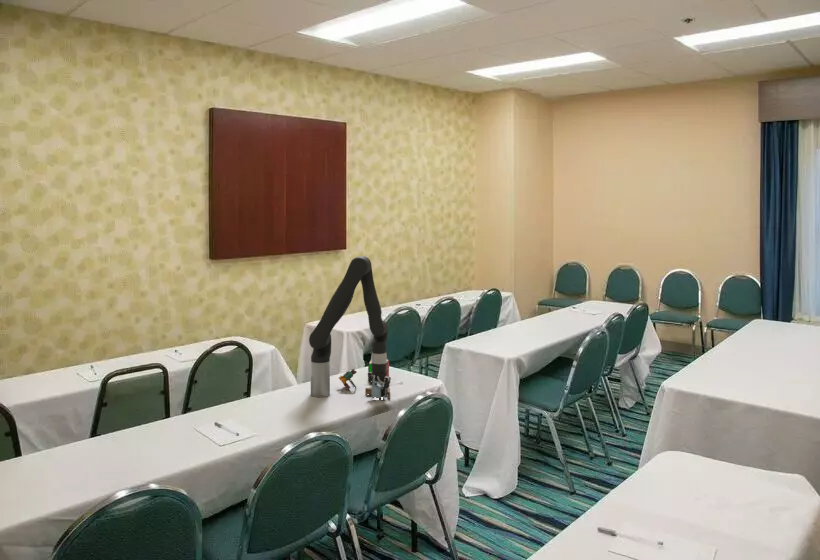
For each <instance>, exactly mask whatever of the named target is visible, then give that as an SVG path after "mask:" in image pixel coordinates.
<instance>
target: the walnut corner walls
mask: <svg viewBox="0 0 820 560" xmlns="http://www.w3.org/2000/svg"><path fill="white" fill-rule="evenodd" d="M364 394H365V396H372V387H365V392H364ZM367 394H369V395H367ZM386 396H387V399H388V400H390V399H391V388H390V387H389V388H387V389H386Z"/></svg>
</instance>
